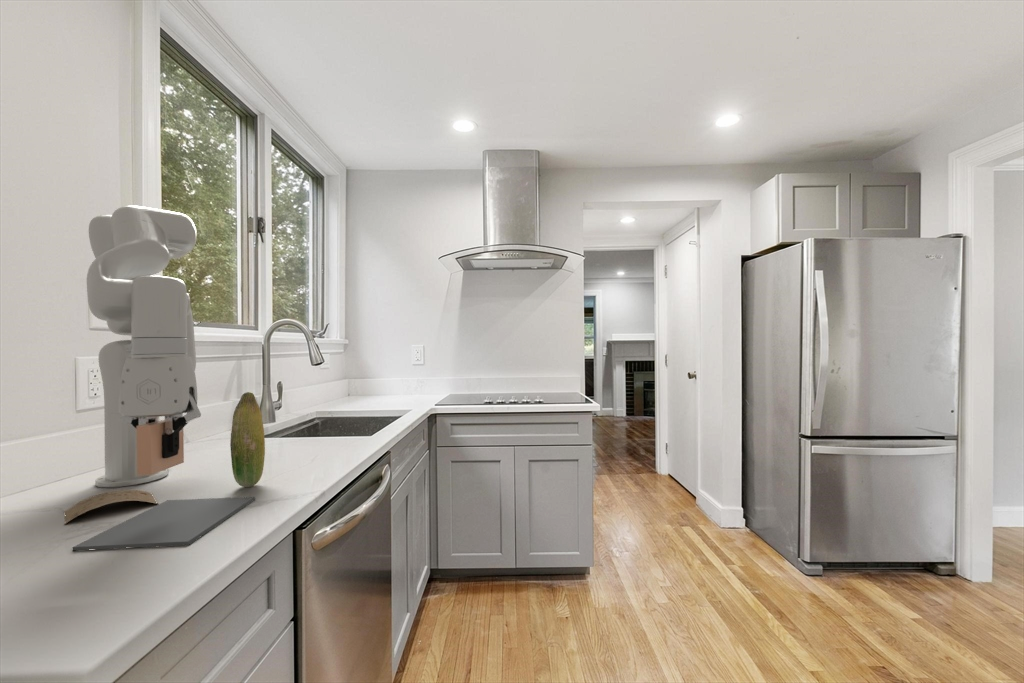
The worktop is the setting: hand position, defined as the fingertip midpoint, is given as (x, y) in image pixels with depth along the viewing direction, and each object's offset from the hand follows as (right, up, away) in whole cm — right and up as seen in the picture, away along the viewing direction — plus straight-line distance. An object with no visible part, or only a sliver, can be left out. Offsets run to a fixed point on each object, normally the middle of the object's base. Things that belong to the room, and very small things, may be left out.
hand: (161, 456), depth 76 cm
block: (0, -2, 0) cm, 2 cm away
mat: (+3, -11, -1) cm, 11 cm away
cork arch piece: (-14, -12, +7) cm, 20 cm away
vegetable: (+5, -11, +17) cm, 21 cm away
